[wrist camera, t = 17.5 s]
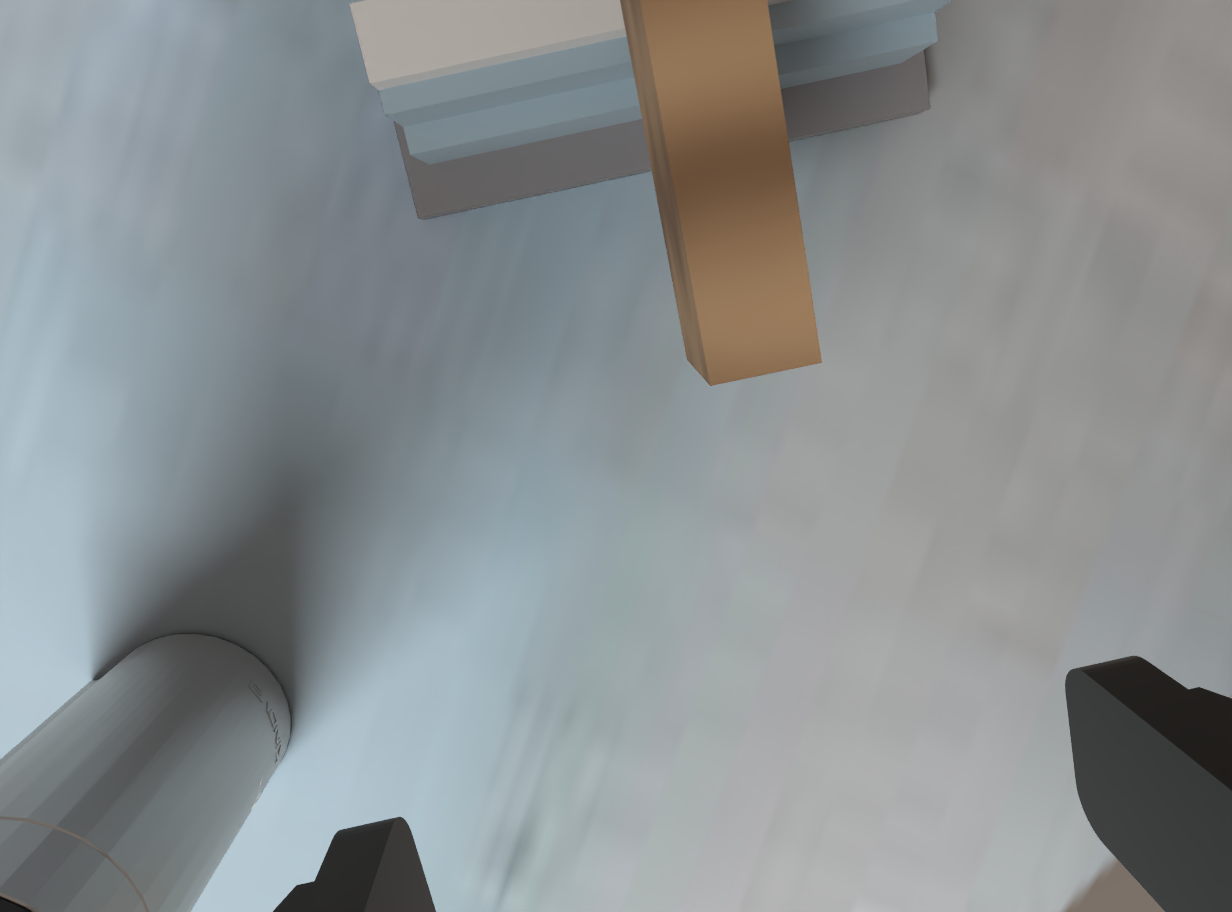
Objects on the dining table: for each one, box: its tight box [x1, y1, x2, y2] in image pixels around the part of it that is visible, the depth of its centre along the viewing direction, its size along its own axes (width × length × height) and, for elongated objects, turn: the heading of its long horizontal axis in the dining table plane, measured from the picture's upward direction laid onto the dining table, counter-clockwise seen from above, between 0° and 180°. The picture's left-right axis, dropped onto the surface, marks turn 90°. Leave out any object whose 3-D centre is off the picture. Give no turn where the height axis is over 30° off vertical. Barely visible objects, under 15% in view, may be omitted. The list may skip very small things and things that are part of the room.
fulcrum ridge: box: [350, 0, 952, 219], centre depth 32 cm, size 22×10×10 cm, turn 102°
